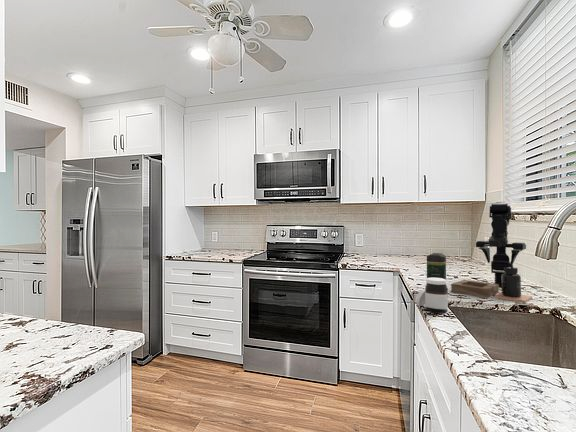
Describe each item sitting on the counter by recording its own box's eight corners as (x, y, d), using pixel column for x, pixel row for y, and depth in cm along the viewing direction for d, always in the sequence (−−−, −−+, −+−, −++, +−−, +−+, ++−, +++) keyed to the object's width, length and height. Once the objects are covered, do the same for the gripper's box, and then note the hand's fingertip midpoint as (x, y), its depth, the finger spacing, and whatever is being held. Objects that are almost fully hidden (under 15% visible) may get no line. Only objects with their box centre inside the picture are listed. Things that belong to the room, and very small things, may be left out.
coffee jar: (444, 297, 138) (444, 254, 138) (425, 295, 143) (424, 253, 143) (447, 292, 146) (447, 252, 146) (429, 290, 151) (428, 251, 151)
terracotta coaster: (502, 293, 144) (502, 291, 144) (532, 298, 136) (532, 296, 136) (494, 297, 137) (494, 295, 137) (525, 302, 129) (525, 300, 129)
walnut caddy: (464, 286, 159) (463, 279, 159) (498, 291, 147) (498, 284, 147) (451, 291, 149) (451, 284, 149) (487, 297, 137) (487, 289, 137)
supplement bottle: (514, 293, 140) (514, 266, 140) (525, 297, 133) (524, 269, 133) (498, 293, 141) (498, 266, 141) (507, 297, 134) (507, 269, 134)
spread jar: (447, 315, 114) (446, 282, 114) (413, 310, 119) (413, 279, 119) (448, 306, 124) (448, 276, 124) (417, 303, 130) (417, 274, 130)
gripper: (471, 230, 149) (471, 263, 149) (519, 231, 135) (519, 268, 135) (479, 229, 156) (480, 261, 156) (526, 230, 142) (526, 265, 142)
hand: (500, 263), depth 147 cm, fingers open, 9 cm apart
